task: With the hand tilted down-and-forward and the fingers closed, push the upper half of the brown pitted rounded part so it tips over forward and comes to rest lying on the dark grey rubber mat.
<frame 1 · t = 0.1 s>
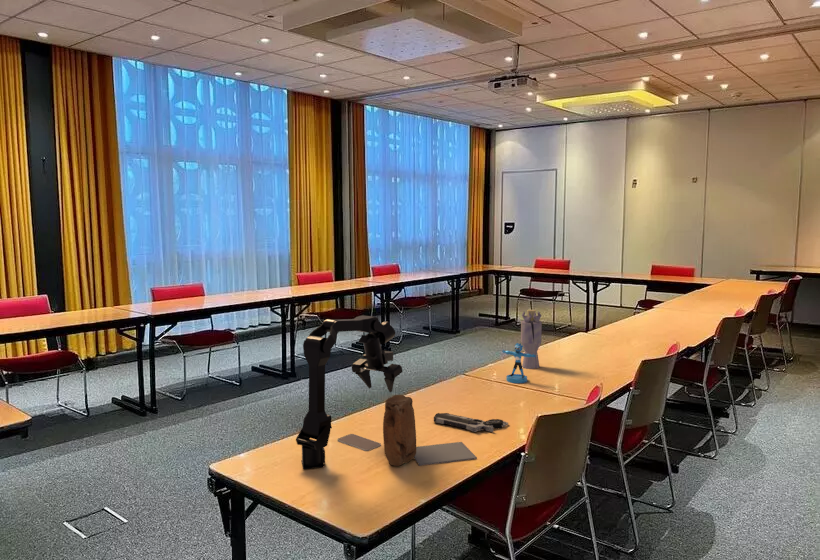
hand: (380, 389, 210), 15 cm above the table, tool pointing down, fingers open, 9 cm apart
vase: (530, 367, 304), on the table
mat: (441, 453, 191), on the table
figurine: (518, 381, 278), on the table
firearm: (470, 425, 219), on the table
smartphone: (359, 444, 201), on the table
brown pitted rounded part: (401, 460, 185), on the table, touching mat
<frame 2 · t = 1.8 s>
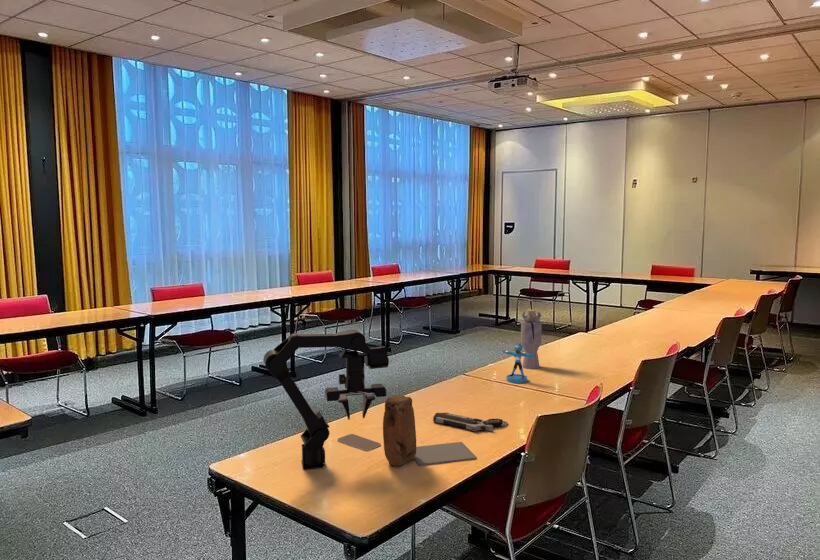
hand: (356, 418, 186), 13 cm above the table, tool pointing down, fingers open, 4 cm apart
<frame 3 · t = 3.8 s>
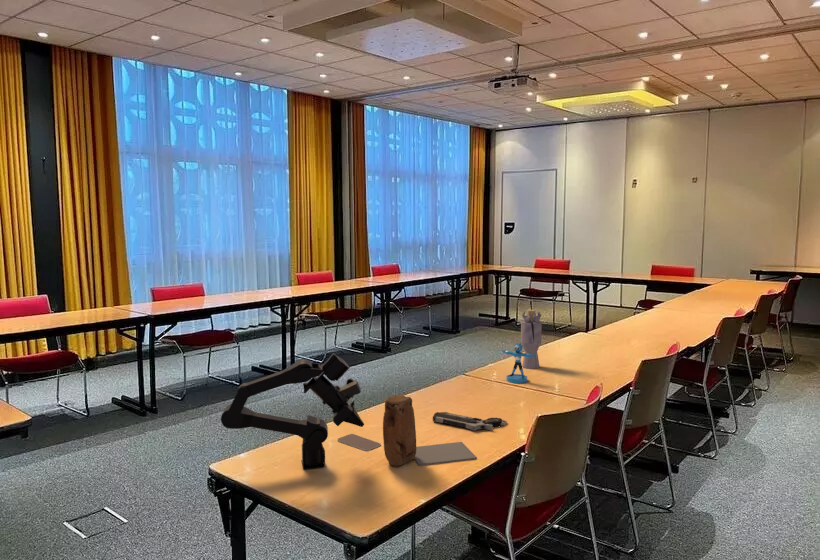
hand: (363, 425, 183), 12 cm above the table, tool tilted 45°, fingers closed
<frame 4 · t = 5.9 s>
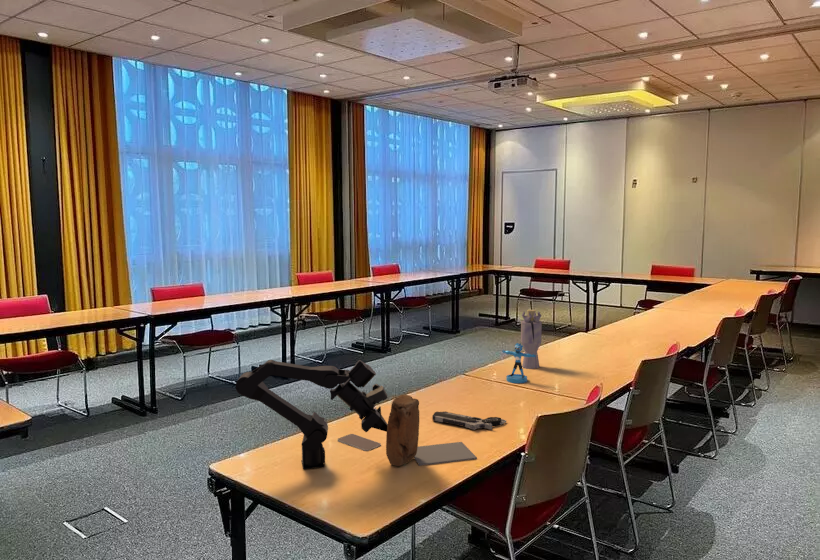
hand: (390, 430, 184), 10 cm above the table, tool tilted 45°, fingers closed
brown pitted rounded part: (401, 459, 185), on the table, touching gripper, mat
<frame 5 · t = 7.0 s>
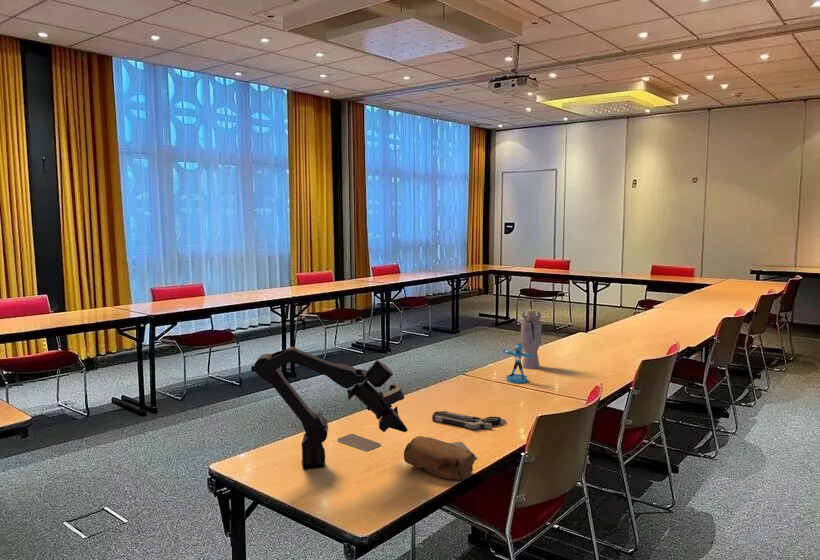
hand: (406, 431, 184), 10 cm above the table, tool tilted 45°, fingers closed
brown pitted rounded part: (411, 448, 183), point 5 cm above the table, touching mat
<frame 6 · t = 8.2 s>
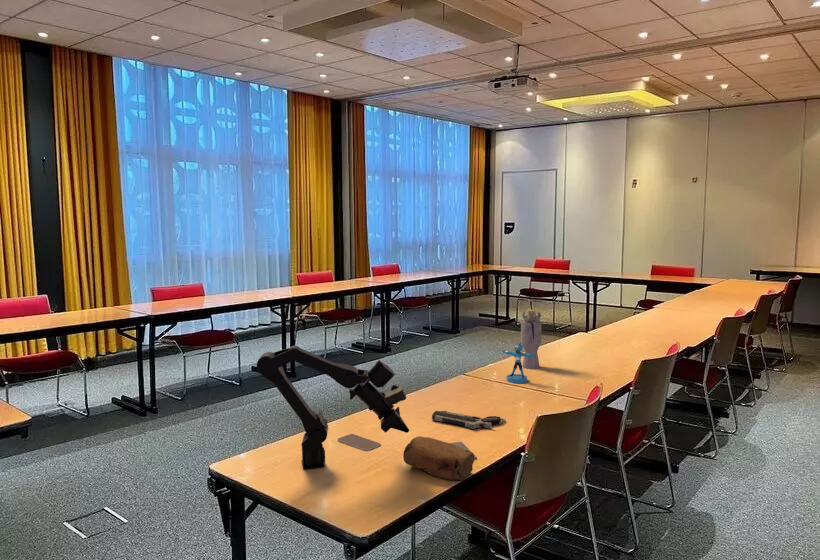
hand: (408, 431, 184), 10 cm above the table, tool tilted 45°, fingers closed
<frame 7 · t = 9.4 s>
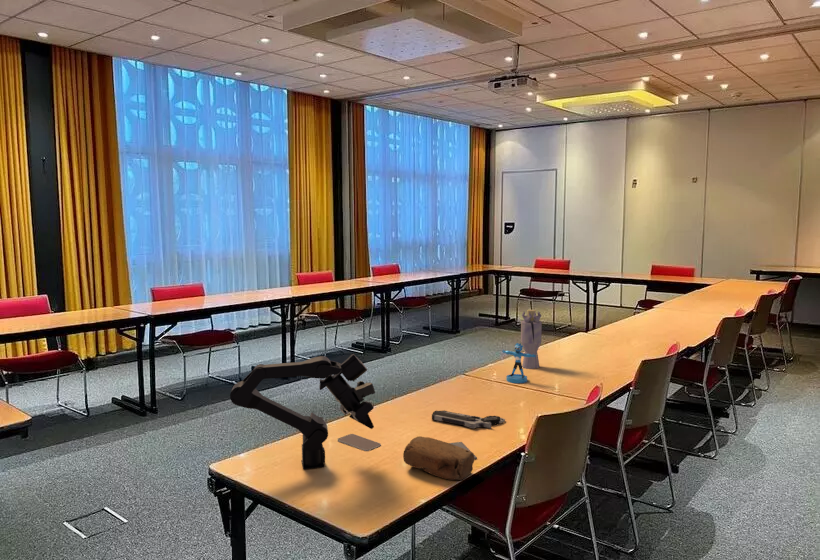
hand: (372, 427, 185), 10 cm above the table, tool tilted 35°, fingers closed
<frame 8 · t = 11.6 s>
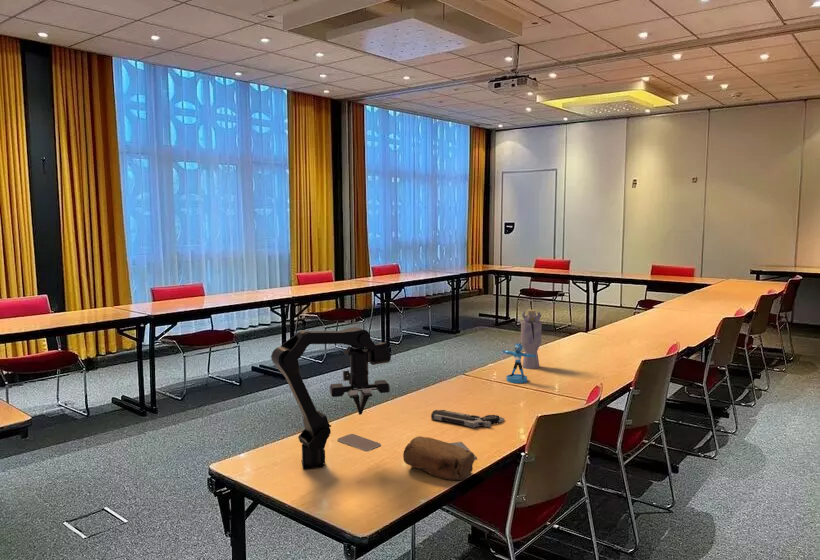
hand: (360, 414, 191), 13 cm above the table, tool pointing down, fingers closed
at the end: brown pitted rounded part tilted 93°; brown pitted rounded part inside the target area (11.7 cm from its centre), point 4.4 cm above the table; the gripper is holding nothing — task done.
